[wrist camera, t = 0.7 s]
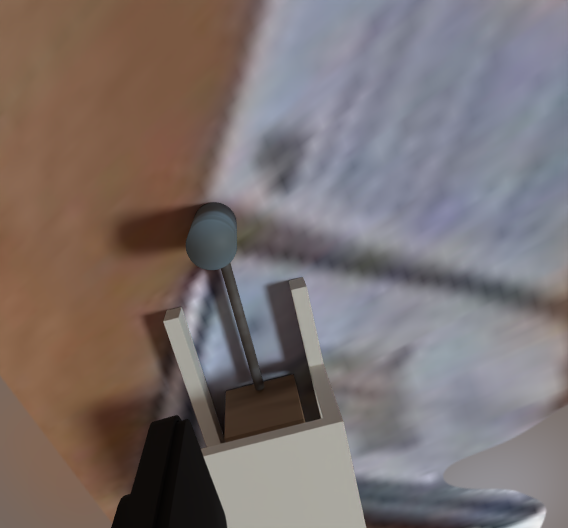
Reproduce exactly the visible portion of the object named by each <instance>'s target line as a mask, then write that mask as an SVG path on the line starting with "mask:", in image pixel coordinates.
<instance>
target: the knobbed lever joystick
mask: <svg viewBox="0 0 568 528" xmlns="http://www.w3.org/2000/svg"><path fill="white" fill-rule="evenodd" d="M236 250H237V226H236V218H235V215H234V213H233V212H232V210H231V209H230V208H229V207H227V206H226V205H224V204H221V203H216V202H213V203H208V204H205V205H203V206H202V207H201V208H200V209H199V210H198V211H197V212H196V214H195V217H194V220H193V223H192V225H191V228H190V231H189V234H188V237H187V240H186V251H187V254H188V256H189V258H190V259H191V261H192V262H193V263H194V264H195V265H197V266H198V267H200V268H203V269H206V270H217V269H221V271H222V274H223V278H224V281H225V285H226V288H227V292H228V295H229V299H230V302H231V306H232V309H233V313H234V316H235V320H236V323H237V327H238V330H239V334H240V337H241V341H242V344H243V348H244V351H245V355H246V358H247V362H248V365H249V369H250V372H251V376H252V379H253V383H254V384H252V385H248V386H244V387H240V388H236V389H232V390H228V391H226V403H225V436H224V439H225V442H230V441H234V440H238V439H242V438H246V437H250V436H254V435H258V434H262V433H266V432H270V431H274V430H278V429H282V428H286V427H290V426H294V425H298V424H302V423H306V422H305V418H304V414H303V410H302V406H301V402H300V398H299V394H298V390H297V386H296V382H295V378H294V374H293V375H289V376H285V377H281V378H277V379H273V380H269V381H264V382H263V379H262V376H261V372H260V368H259V365H258V361H257V358H256V354H255V350H254V347H253V343H252V340H251V336H250V332H249V329H248V325H247V321H246V318H245V314H244V311H243V307H242V303H241V300H240V296H239V293H238V289H237V285H236V282H235V278H234V275H233V271H232V267H231V264H230V262H231V261H232V260H233V258H234V256H235V254H236Z"/></svg>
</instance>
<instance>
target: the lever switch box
mask: <svg viewBox="0 0 568 528" xmlns="http://www.w3.org/2000/svg"><path fill="white" fill-rule="evenodd" d="M289 286H290V290H291V294H292V298H293V303H294V307H295V311H296V315H297V320H298V324H299V328H300V333H301V337H302V341H303V345H304V350H305V354H306V358H307V362H308V367H309V371H310V375H311V380H312V384H313V388H314V392H315V397H316V401H317V405H318V409H319V414H320V418H321V419H318V420H314V421H310V422H306V423H302V424H298V425H294V426H290V427H286V428H282V429H278V430H274V431H270V432H266V433H262V434H258V435H254V436H250V437H246V438H242V439H238V440H234V441H230V442H225V439H224V435H223V432H222V429H221V426H220V423H219V420H218V417H217V414H216V411H215V408H214V405H213V402H212V398H211V395H210V392H209V389H208V386H207V383H206V380H205V377H204V374H203V371H202V368H201V365H200V362H199V359H198V356H197V353H196V350H195V347H194V343H193V340H192V337H191V334H190V331H189V328H188V325H187V322H186V319H185V316H184V313H183V310H182V307H178V308H174V309H170V310H167V311H166V314H165V317H164V320H163V322H164V325H165V328H166V331H167V334H168V337H169V340H170V342H171V345H172V348H173V351H174V354H175V357H176V360H177V363H178V365H179V368H180V371H181V374H182V377H183V380H184V383H185V386H186V389H187V391H188V394H189V397H190V400H191V403H192V406H193V409H194V412H195V415H196V417H197V420H198V423H199V426H200V429H201V432H202V435H203V438H204V441H205V443H206V446H207V447H206V448H202V449H201V451H202V454H203V457H204V459H205V462H206V465H207V467H208V470H209V473H210V475H211V478H212V481H213V483H214V486H215V489H216V491H217V494H218V497H219V499H220V502H221V504H222V507H223V510H224V513H225V516H226V521H227V528H366V525H365V520H364V516H363V511H362V506H361V502H360V497H359V492H358V488H357V483H356V478H355V474H354V469H353V464H352V460H351V455H350V450H349V446H348V441H347V436H346V432H345V427H344V422H343V419H342V416H341V413H340V410H339V407H338V404H337V401H336V399H335V396H334V393H333V390H332V387H331V384H330V381H329V378H328V375H327V372H326V369H325V367H324V364H323V359H322V355H321V350H320V345H319V341H318V336H317V332H316V327H315V323H314V318H313V314H312V309H311V305H310V300H309V296H308V291H307V286H306V284H305V281H304V279H303V277H302V278H297V279H293V280H289Z"/></svg>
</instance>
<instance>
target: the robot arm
mask: <svg viewBox="0 0 568 528" xmlns="http://www.w3.org/2000/svg"><path fill="white" fill-rule="evenodd" d="M111 528H227V521H226V516H225V513H224V510H223V507H222V504H221V502H220V499H219V497H218V494H217V491H216V489H215V486H214V483H213V481H212V478H211V475H210V473H209V470H208V467H207V465H206V462H205V459H204V457H203V454H202V451H201V449H200V446H199V443H198V441H197V438H196V436H195V433H194V430H193V428H192V425H191V423H190V421H189V420H188V419H186V420H183V421H181V419H180V417H179V416H177V415H176V416H172V417H168V418H165V419H161V420H158V421H154V422H152V423H151V425H150V427H149V431H148V434H147V438H146V442H145V445H144V449H143V452H142V456H141V459H140V463H139V466H138V470H137V474H136V477H135V481H134V484H133V488H132V491H131V494H128V495H125V496H123V497H122V498H121V500H120V502H119V504H118V507H117V510H116V514H115V517H114V520H113V524H112V527H111Z"/></svg>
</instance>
